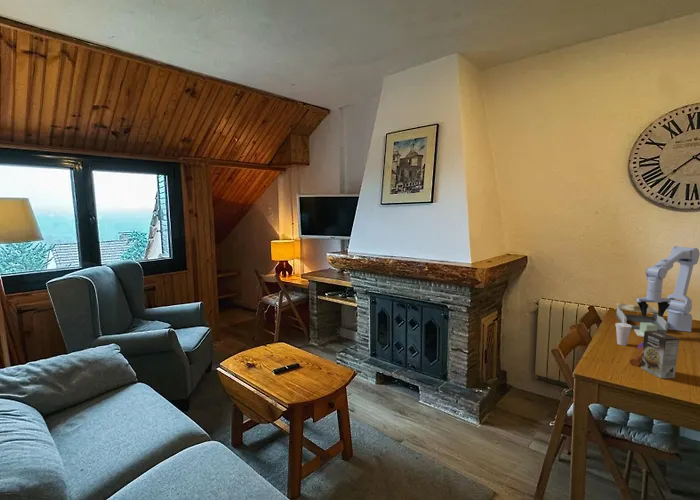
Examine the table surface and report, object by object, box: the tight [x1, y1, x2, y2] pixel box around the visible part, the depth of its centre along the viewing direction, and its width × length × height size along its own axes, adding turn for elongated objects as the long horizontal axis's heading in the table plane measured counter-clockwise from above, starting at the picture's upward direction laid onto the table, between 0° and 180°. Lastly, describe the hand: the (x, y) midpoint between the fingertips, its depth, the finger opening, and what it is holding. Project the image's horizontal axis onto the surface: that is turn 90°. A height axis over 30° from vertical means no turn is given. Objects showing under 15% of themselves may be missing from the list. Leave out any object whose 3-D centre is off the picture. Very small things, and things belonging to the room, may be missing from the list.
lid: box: [615, 302, 658, 314], centre depth 209 cm, size 18×13×3 cm
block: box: [639, 322, 658, 334], centre depth 184 cm, size 5×5×5 cm
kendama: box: [629, 342, 643, 367], centre depth 156 cm, size 6×6×20 cm
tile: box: [633, 329, 644, 338], centre depth 184 cm, size 10×10×1 cm
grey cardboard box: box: [640, 331, 680, 379], centre depth 142 cm, size 9×6×16 cm
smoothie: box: [614, 316, 633, 347], centre depth 172 cm, size 6×6×14 cm
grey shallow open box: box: [615, 306, 668, 334], centre depth 201 cm, size 18×25×6 cm
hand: (652, 316), depth 184 cm, fingers open, 7 cm apart
